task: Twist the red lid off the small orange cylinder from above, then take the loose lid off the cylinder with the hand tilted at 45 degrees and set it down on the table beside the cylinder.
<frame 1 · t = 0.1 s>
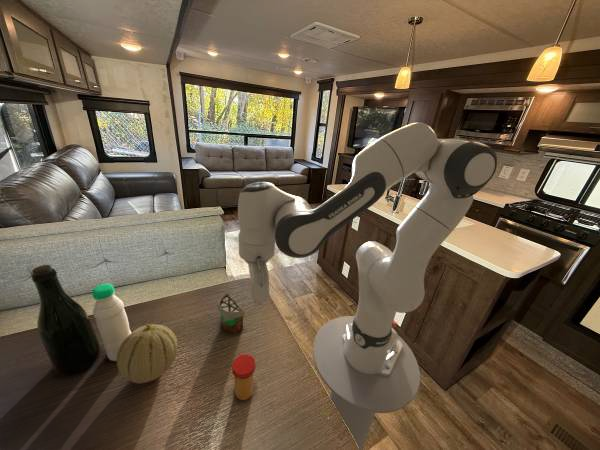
hand: (256, 291, 67), 27 cm above the table, tool pointing down, fingers open, 8 cm apart
white milk bottle: (122, 352, 77), on the table
dark green glass bottle: (79, 360, 74), on the table
food container: (228, 326, 90), on the table
orange cylinder: (244, 390, 69), on the table
lid: (243, 364, 65), point 11 cm above the table, screwed on, not yet turned
cantaloupe: (153, 369, 73), on the table
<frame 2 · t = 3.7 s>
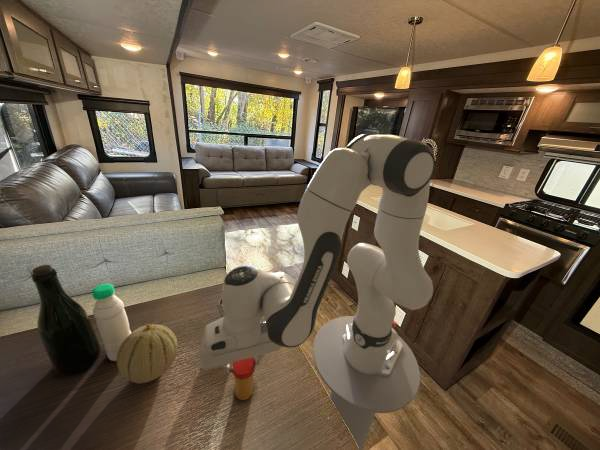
hand: (243, 366, 65), 10 cm above the table, tool pointing down, fingers closed on lid, 6 cm apart
lid: (243, 364, 65), point 11 cm above the table, screwed on, not yet turned, touching gripper
everything else where it was.
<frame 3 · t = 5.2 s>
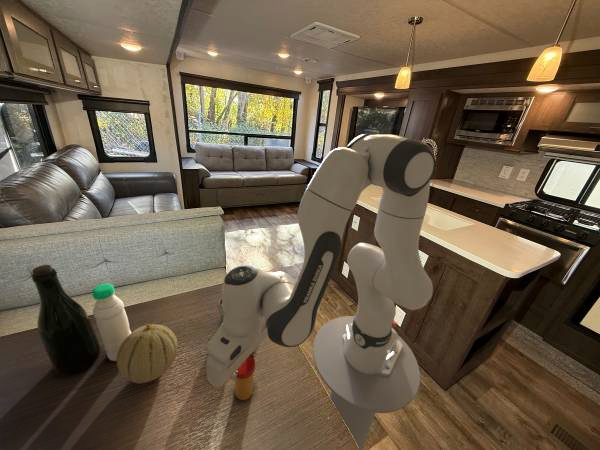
hand: (243, 366, 65), 10 cm above the table, tool pointing down, fingers closed on lid, 6 cm apart
lid: (243, 364, 65), point 11 cm above the table, turned 39° so far, risen 0.1 cm, still on its thread, touching gripper
everything else where it was.
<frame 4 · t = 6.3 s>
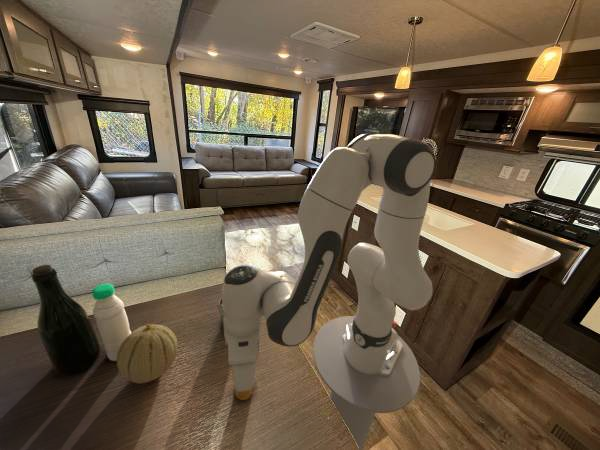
hand: (243, 366, 65), 10 cm above the table, tool pointing down, fingers closed on lid, 6 cm apart
lid: (243, 364, 65), point 11 cm above the table, turned 82° so far, risen 0.2 cm, still on its thread, touching gripper
everything else where it was.
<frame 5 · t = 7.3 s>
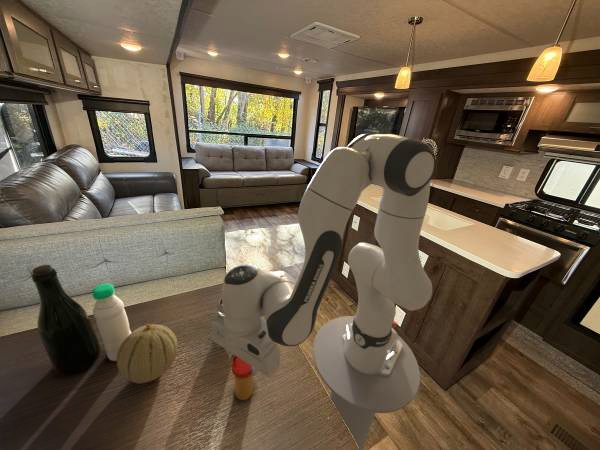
hand: (243, 365, 65), 10 cm above the table, tool pointing down, fingers closed on lid, 6 cm apart
lid: (243, 364, 65), point 11 cm above the table, off its thread, touching gripper
everything else where it was.
when the fingers open (10 cm above the table, at t = 8.7 s): lid stays where it is, resting on orange cylinder.
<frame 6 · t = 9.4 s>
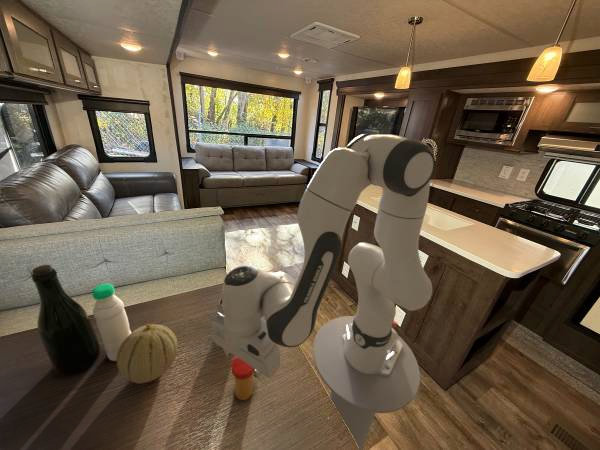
hand: (244, 366, 65), 10 cm above the table, tool pointing down, fingers open, 8 cm apart
orange cylinder: (244, 390, 69), on the table, touching lid
lid: (243, 365, 65), point 11 cm above the table, off its thread, touching orange cylinder
everything else where it was.
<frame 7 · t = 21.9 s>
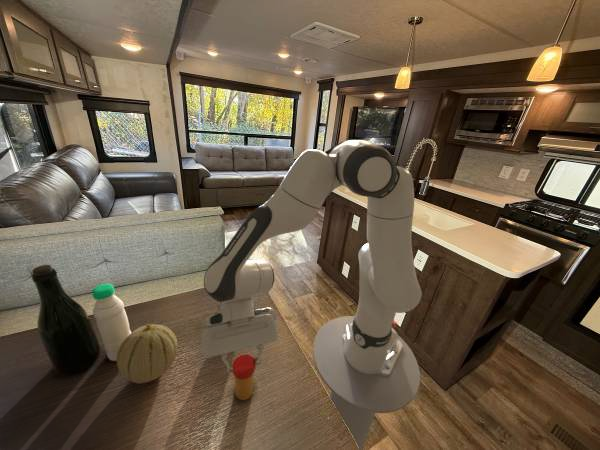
hand: (244, 368, 65), 10 cm above the table, tool tilted 45°, fingers closed on lid, 6 cm apart
lid: (244, 364, 65), point 11 cm above the table, off its thread, touching gripper, orange cylinder
everything else where it was.
when the fingers open (1 cm above the table, at t = 31.2 s): lid stays where it is, point 1 cm above the table.
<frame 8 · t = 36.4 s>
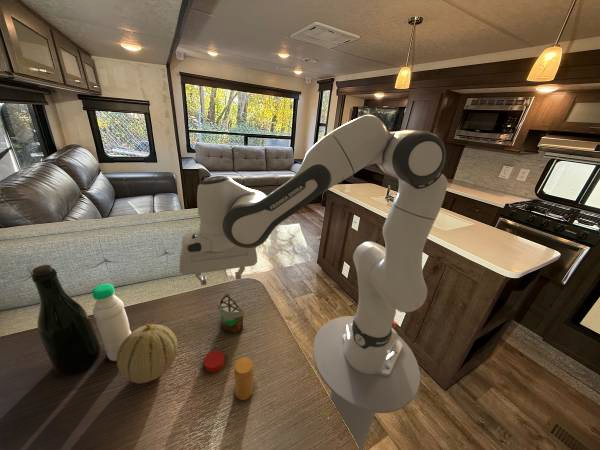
hand: (221, 280, 70), 27 cm above the table, tool pointing down, fingers open, 8 cm apart
orange cylinder: (244, 390, 69), on the table
lid: (214, 359, 76), point 1 cm above the table, off its thread
everything else where it was.
at the end: lid came off its thread; lid point 1.5 cm above the table; the gripper is holding nothing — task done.
